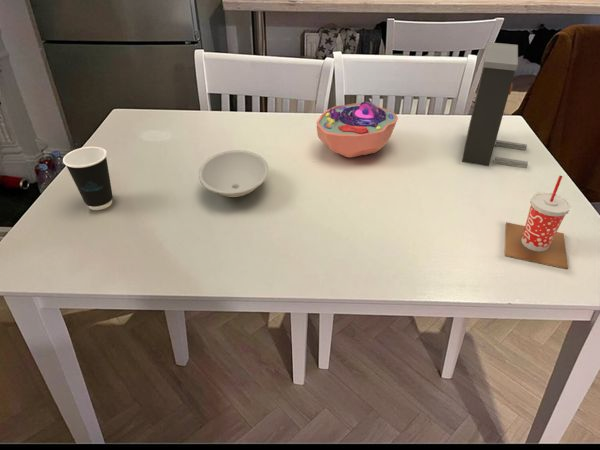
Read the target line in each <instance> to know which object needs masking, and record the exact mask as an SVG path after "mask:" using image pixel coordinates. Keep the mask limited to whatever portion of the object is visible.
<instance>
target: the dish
mask: <svg viewBox="0 0 600 450" xmlns="http://www.w3.org/2000/svg"><path fill="white" fill-rule="evenodd" d="M269 172H270V167H269V164H268V162H267V161H266V159H264V158H263V157H262V156H261V155H260V154H258V153H256V152H253V151H249V150H244V149H232V150H225V151H222V152H218V153H216V154H214V155H212V156H210V157H208V158H207V159H206V160H205V161H204V162H203V163H202V164H201V165H200V168H199V170H198V179H199V182H200V183H201V185H202V186H203V187H204V188H205V189H207V190H209V191H210V192H213V193H215V194H217V195H219V196H222V197H228V198H238V197H243V196H245V195H248V194H250V193H251V192H254V190H255V189H257V188H258V187H259V186H261V185H262V184H263V183H264V182H265V181H266V179H267V178H268V176H269Z"/></svg>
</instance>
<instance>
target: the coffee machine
mask: <svg viewBox="0 0 600 450" xmlns="http://www.w3.org/2000/svg"><path fill="white" fill-rule="evenodd" d="M485 47H486V48H485V52H484V59H483V64H482V68H481V73H480V77H479V81H478V86H477V91H476V95H475V99H474V103H473V108H472V111H471V117H470V121H469V125H468V129H467V133H466V137H465V142H464V143H465V144H464V149H463V155H462V159H461V162H462V163H467V164H472V165H473V164H474V165H478V166H479V165H480V166H485V167H486V166H487V167H490V164H491V161H492V156H493V152H494V151H495V150H494V149H495V147H502V148H507V149H515V150H521V151H526V150H527V148H528V144H527V143H520V142H514V141H506V140H500V139H497V138H498V135H499V131H500V128H501V123H502V120H503V116H504V113H505V110H506V105H507V102H508V98H509V96H510V95H511V94H512V90H513V86H514V83H513V80H514V76H515V72H516V71H517V69H518V66H519V45H518V44H510V43H501V42H486V46H485ZM493 163H494V164H499V165H505V166H512V167H517V168H524V169H527V167H528V164H529V163H528V160H527V161H526V160H521V159H514V158H507V157H501V156H495V157H494V160H493Z"/></svg>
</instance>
